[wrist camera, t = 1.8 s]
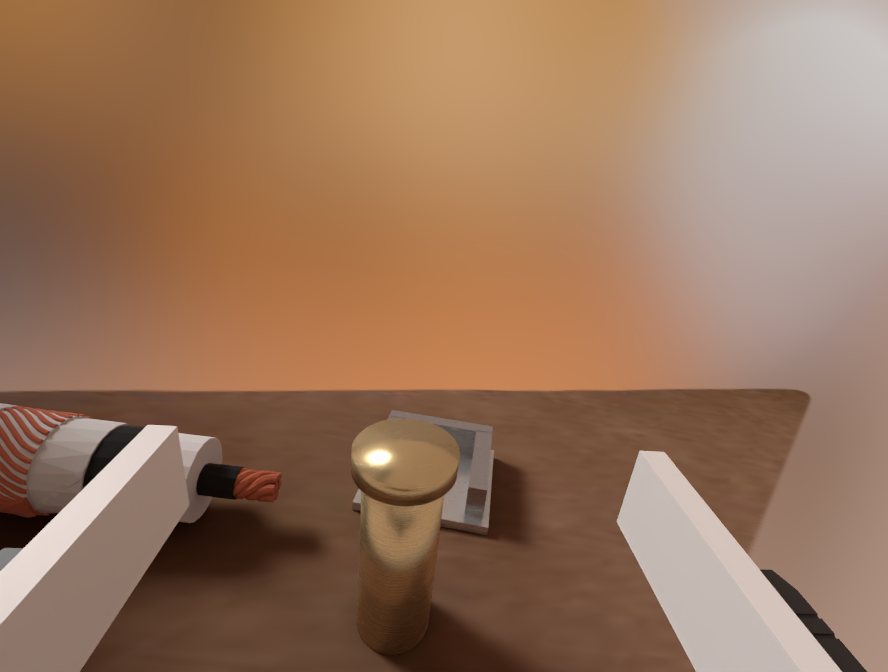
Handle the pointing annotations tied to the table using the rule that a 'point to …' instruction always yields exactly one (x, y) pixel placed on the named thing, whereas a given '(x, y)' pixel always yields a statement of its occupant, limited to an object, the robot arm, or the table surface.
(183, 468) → the robot arm
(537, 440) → the table surface
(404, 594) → the end pin
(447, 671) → the table surface
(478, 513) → the keeper bracket
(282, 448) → the table surface
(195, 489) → the cable
